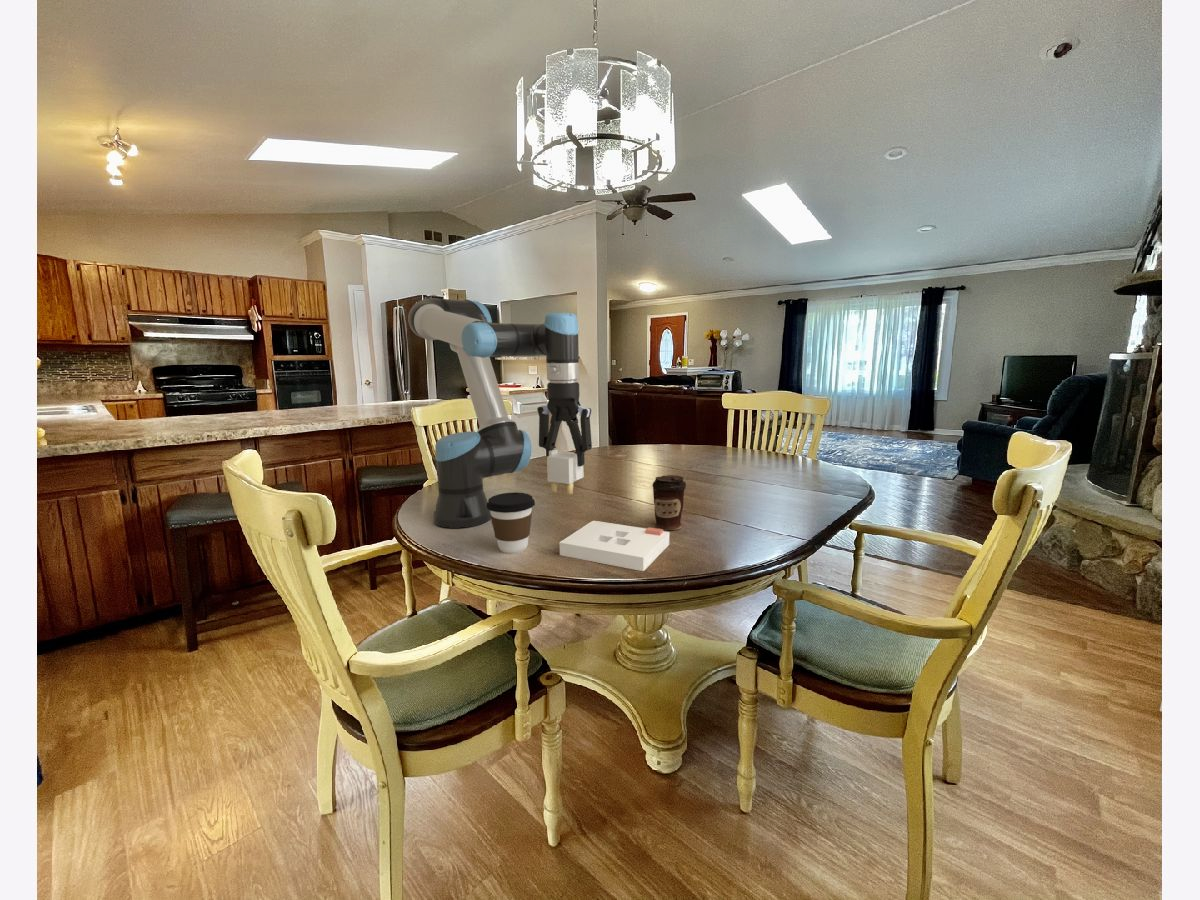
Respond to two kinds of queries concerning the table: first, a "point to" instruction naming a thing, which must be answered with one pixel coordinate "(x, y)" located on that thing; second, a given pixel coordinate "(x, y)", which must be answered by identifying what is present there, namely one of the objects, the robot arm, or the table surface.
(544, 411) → the robot arm
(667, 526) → the coffee cup
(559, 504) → the table surface
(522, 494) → the coffee cup
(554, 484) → the plug
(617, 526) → the socket plate
